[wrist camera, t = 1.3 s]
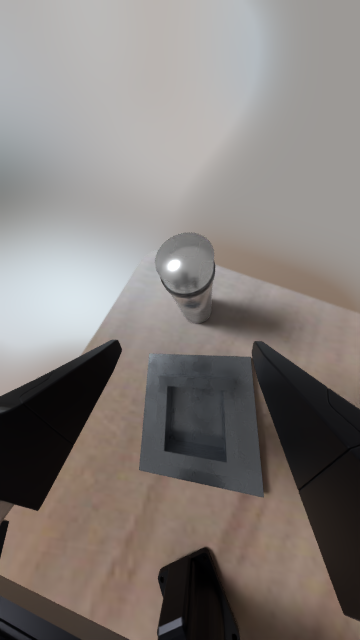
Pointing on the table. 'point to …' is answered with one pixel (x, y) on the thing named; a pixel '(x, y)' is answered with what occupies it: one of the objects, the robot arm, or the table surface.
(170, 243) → the silver banded cylinder
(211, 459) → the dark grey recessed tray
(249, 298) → the table surface
